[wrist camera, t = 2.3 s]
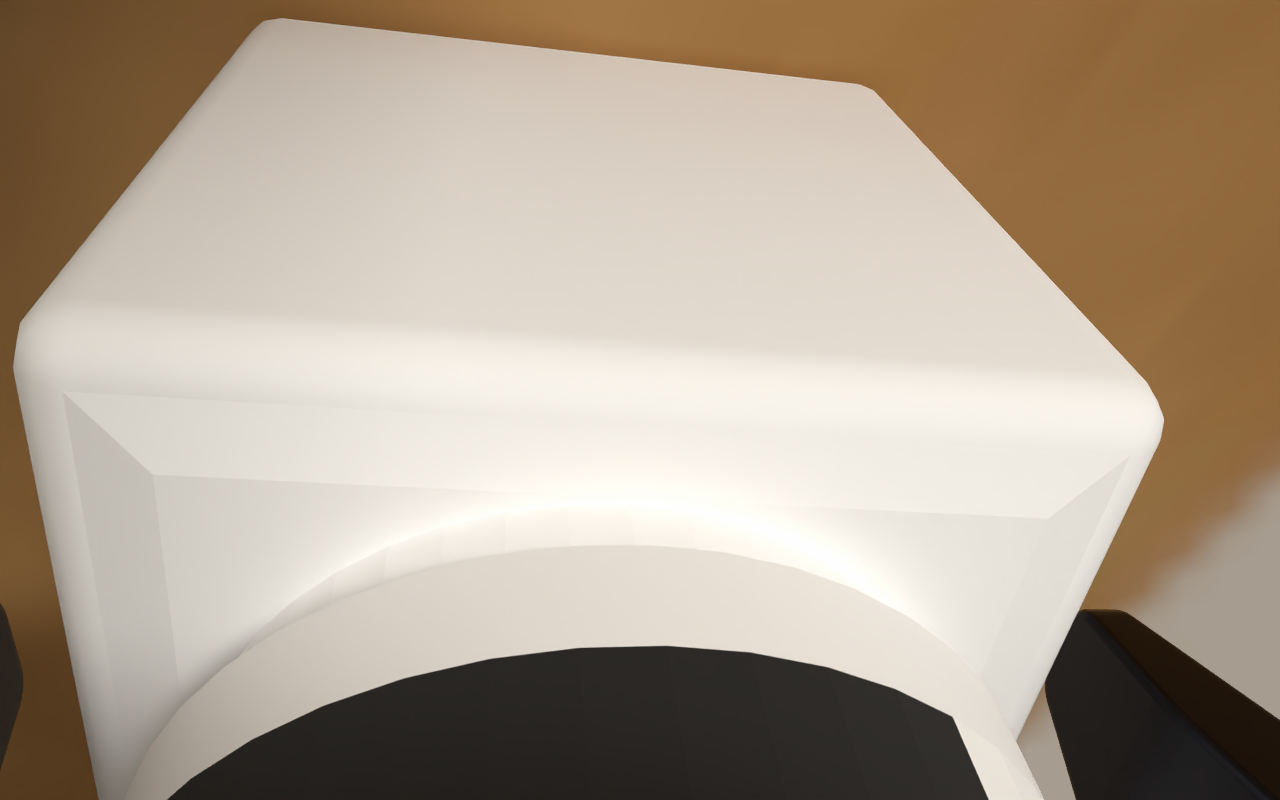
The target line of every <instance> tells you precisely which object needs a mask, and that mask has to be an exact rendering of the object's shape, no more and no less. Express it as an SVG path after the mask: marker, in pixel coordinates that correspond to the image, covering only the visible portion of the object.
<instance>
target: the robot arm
mask: <svg viewBox="0 0 1280 800" xmlns="http://www.w3.org/2000/svg"><path fill="white" fill-rule="evenodd" d="M1045 692H1046V699H1047V703H1048V706H1049V710H1050V713H1051V716H1052V720H1053V723H1054V727H1055V730H1056V733H1057V737H1058V740H1059V744H1060V747H1061V750H1062V753H1063V757H1064V760H1065V764H1066V767H1067V771H1068V774H1069V777H1070V781H1071V784H1072V788H1073V791H1074V794H1075V798H1076V800H1280V720H1279V719H1278V718H1276V717H1274V716H1273V715H1272V714H1271V713H1269V712H1268V711H1266V710H1265V709H1263V708H1262V707H1261V706H1259V705H1258V704H1256V703H1255V702H1254V701H1252V700H1251V699H1249V698H1248V697H1246V696H1245V695H1244V694H1242V693H1241V692H1239V691H1238V690H1236V689H1235V688H1233V687H1232V686H1231V685H1229V684H1228V683H1226V682H1225V681H1223V680H1222V679H1221V678H1219V677H1218V676H1217V675H1215V674H1214V673H1212V672H1211V671H1209V670H1208V669H1207V668H1205V667H1204V666H1202V665H1201V664H1199V663H1198V662H1197V661H1195V660H1194V659H1192V658H1191V657H1190V656H1188V655H1187V654H1185V653H1184V652H1182V651H1181V650H1180V649H1178V648H1177V647H1175V646H1174V645H1172V644H1171V643H1170V642H1168V641H1167V640H1165V639H1164V638H1162V637H1161V636H1160V635H1158V634H1157V633H1155V632H1154V631H1153V630H1151V629H1150V628H1148V627H1147V626H1145V625H1144V624H1143V623H1141V622H1140V621H1138V620H1137V619H1135V618H1134V617H1133V616H1131V615H1129V614H1128V613H1126V612H1124V611H1120V610H1107V609H1084V610H1080V611H1078V613H1077V615H1076V617H1075V619H1074V621H1073V623H1072V625H1071V627H1070V629H1069V631H1068V634H1067V636H1066V638H1065V640H1064V642H1063V644H1062V646H1061V648H1060V650H1059V652H1058V654H1057V656H1056V659H1055V661H1054V663H1053V665H1052V667H1051V669H1050V671H1049V673H1048V675H1047V677H1046V680H1045ZM22 693H23V673H22V668H21V664H20V661H19V657H18V654H17V650H16V646H15V643H14V639H13V636H12V632H11V629H10V625H9V622H8V618H7V615H6V612H5V610H4V608H3V606H2V605H1V604H0V769H1V766H2V763H3V759H4V756H5V753H6V750H7V746H8V743H9V740H10V736H11V733H12V730H13V726H14V723H15V720H16V716H17V713H18V710H19V706H20V703H21V699H22Z"/></svg>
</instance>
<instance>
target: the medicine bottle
mask: <svg viewBox="0 0 1280 800" xmlns="http://www.w3.org/2000/svg"><path fill="white" fill-rule="evenodd" d="M13 371H14V376H15V381H16V386H17V391H18V396H19V401H20V407H21V412H22V417H23V422H24V427H25V432H26V437H27V442H28V447H29V452H30V457H31V462H32V467H33V472H34V477H35V482H36V487H37V492H38V497H39V502H40V507H41V512H42V518H43V523H44V528H45V533H46V538H47V543H48V548H49V553H50V558H51V563H52V568H53V573H54V578H55V583H56V588H57V593H58V598H59V603H60V608H61V613H62V618H63V623H64V628H65V634H66V639H67V644H68V649H69V654H70V659H71V664H72V669H73V674H74V679H75V684H76V689H77V694H78V699H79V704H80V709H81V714H82V719H83V724H84V729H85V734H86V739H87V745H88V750H89V755H90V760H91V765H92V770H93V775H94V780H95V785H96V790H97V795H98V800H1044V798H1043V796H1042V794H1041V792H1040V790H1039V788H1038V786H1037V784H1036V782H1035V780H1034V778H1033V776H1032V774H1031V771H1030V769H1029V767H1028V765H1027V763H1026V761H1025V759H1024V757H1023V755H1022V753H1021V751H1020V749H1019V747H1018V745H1017V743H1016V740H1017V738H1018V736H1019V734H1020V732H1021V729H1022V727H1023V725H1024V723H1025V721H1026V719H1027V717H1028V715H1029V713H1030V711H1031V709H1032V707H1033V704H1034V702H1035V700H1036V698H1037V696H1038V694H1039V692H1040V690H1041V688H1042V686H1043V684H1044V682H1045V679H1046V677H1047V675H1048V673H1049V671H1050V669H1051V667H1052V665H1053V663H1054V661H1055V659H1056V656H1057V654H1058V652H1059V650H1060V648H1061V646H1062V644H1063V642H1064V640H1065V638H1066V636H1067V634H1068V631H1069V629H1070V627H1071V625H1072V623H1073V621H1074V619H1075V617H1076V615H1077V613H1078V611H1079V609H1080V606H1081V604H1082V602H1083V600H1084V598H1085V596H1086V594H1087V592H1088V590H1089V588H1090V586H1091V584H1092V581H1093V579H1094V577H1095V575H1096V573H1097V571H1098V569H1099V567H1100V565H1101V563H1102V561H1103V559H1104V556H1105V554H1106V552H1107V550H1108V548H1109V546H1110V544H1111V542H1112V540H1113V538H1114V536H1115V534H1116V531H1117V529H1118V527H1119V525H1120V523H1121V521H1122V519H1123V517H1124V515H1125V513H1126V511H1127V508H1128V506H1129V504H1130V502H1131V500H1132V498H1133V496H1134V494H1135V492H1136V490H1137V488H1138V486H1139V483H1140V481H1141V479H1142V477H1143V475H1144V473H1145V471H1146V469H1147V467H1148V465H1149V463H1150V461H1151V458H1152V456H1153V454H1154V452H1155V450H1156V448H1157V446H1158V444H1159V442H1160V439H1161V434H1162V428H1163V423H1164V418H1163V415H1162V412H1161V410H1160V407H1159V404H1158V401H1157V400H1156V398H1155V396H1154V394H1153V393H1152V391H1151V389H1150V387H1149V386H1148V384H1147V382H1146V381H1145V380H1144V379H1143V378H1142V377H1141V376H1140V375H1139V374H1138V373H1137V371H1136V370H1135V369H1134V368H1133V367H1132V366H1131V365H1130V364H1129V363H1128V362H1127V361H1126V360H1125V359H1124V358H1123V356H1122V355H1121V354H1120V353H1119V352H1118V351H1117V350H1116V349H1115V348H1114V347H1113V346H1112V345H1111V344H1110V343H1109V342H1108V340H1107V339H1106V338H1105V337H1104V336H1103V335H1102V334H1101V333H1100V332H1099V331H1098V330H1097V329H1096V328H1095V327H1094V326H1093V324H1092V323H1091V322H1090V321H1089V320H1088V319H1087V318H1086V317H1085V316H1084V315H1083V314H1082V313H1081V312H1080V311H1079V309H1078V308H1077V307H1076V306H1075V305H1074V304H1073V303H1072V302H1071V301H1070V300H1069V299H1068V298H1067V297H1066V296H1065V295H1064V293H1063V292H1062V291H1061V290H1060V289H1059V288H1058V287H1057V286H1056V285H1055V284H1054V283H1053V282H1052V281H1051V280H1050V279H1049V277H1048V276H1047V275H1046V274H1045V273H1044V272H1043V271H1042V270H1041V269H1040V268H1039V267H1038V266H1037V265H1036V264H1035V262H1034V261H1033V260H1032V259H1031V258H1030V257H1029V256H1028V255H1027V254H1026V253H1025V252H1024V251H1023V250H1022V249H1021V248H1020V246H1019V245H1018V244H1017V243H1016V242H1015V241H1014V240H1013V239H1012V238H1011V237H1010V236H1009V235H1008V234H1007V233H1006V232H1005V230H1004V229H1003V228H1002V227H1001V226H1000V225H999V224H998V223H997V222H996V221H995V220H994V219H993V218H992V217H991V215H990V214H989V213H988V212H987V211H986V210H985V209H984V208H983V207H982V206H981V205H980V204H979V203H978V202H977V201H976V199H975V198H974V197H973V196H972V195H971V194H970V193H969V192H968V191H967V190H966V189H965V188H964V187H963V186H962V185H961V183H960V182H959V181H958V180H957V179H956V178H955V177H954V176H953V175H952V174H951V173H950V172H949V171H948V170H947V168H946V167H945V166H944V165H943V164H942V163H941V162H940V161H939V160H938V159H937V158H936V157H935V156H934V155H933V154H932V152H931V151H930V150H929V149H928V148H927V147H926V146H925V145H924V144H923V143H922V142H921V141H920V140H919V139H918V138H917V136H916V135H915V134H914V133H913V132H912V131H911V130H910V129H909V128H908V127H907V126H906V125H905V124H904V123H903V121H902V120H901V119H900V118H899V117H898V116H897V115H896V114H895V113H894V112H893V111H892V110H891V109H890V108H889V107H888V105H887V104H886V103H885V102H884V101H883V100H882V99H881V98H880V97H879V96H878V95H877V94H876V93H875V92H874V90H871V89H869V88H867V87H864V86H862V85H859V84H852V83H843V82H834V81H826V80H817V79H808V78H799V77H791V76H782V75H773V74H764V73H756V72H747V71H738V70H730V69H721V68H712V67H703V66H695V65H686V64H677V63H668V62H660V61H651V60H642V59H634V58H625V57H616V56H607V55H599V54H590V53H581V52H572V51H564V50H555V49H546V48H538V47H529V46H520V45H511V44H503V43H494V42H485V41H476V40H468V39H459V38H450V37H442V36H433V35H424V34H415V33H407V32H398V31H389V30H380V29H372V28H363V27H354V26H346V25H337V24H328V23H319V22H311V21H302V20H293V19H284V18H280V19H273V20H266V21H263V22H262V23H261V24H260V25H258V26H257V27H256V28H255V29H254V30H253V31H252V32H251V33H250V34H249V35H248V37H247V38H246V39H245V40H244V42H243V43H242V44H241V45H240V47H239V48H238V49H237V50H236V52H235V53H234V54H233V55H232V57H231V58H230V59H229V61H228V62H227V63H226V64H225V66H224V67H223V68H222V69H221V71H220V72H219V73H218V74H217V76H216V77H215V78H214V79H213V81H212V82H211V83H210V84H209V86H208V87H207V88H206V89H205V91H204V92H203V93H202V94H201V96H200V97H199V98H198V99H197V101H196V102H195V103H194V105H193V106H192V107H191V108H190V110H189V111H188V112H187V113H186V115H185V116H184V117H183V118H182V120H181V121H180V122H179V123H178V125H177V126H176V127H175V128H174V130H173V131H172V132H171V133H170V135H169V136H168V137H167V138H166V140H165V141H164V142H163V144H162V145H161V146H160V147H159V149H158V150H157V151H156V152H155V154H154V155H153V156H152V157H151V159H150V160H149V161H148V162H147V164H146V165H145V166H144V167H143V169H142V170H141V171H140V172H139V174H138V175H137V176H136V177H135V179H134V180H133V181H132V182H131V184H130V185H129V186H128V188H127V189H126V190H125V191H124V193H123V194H122V195H121V196H120V198H119V199H118V200H117V201H116V203H115V204H114V205H113V206H112V208H111V209H110V210H109V211H108V213H107V214H106V215H105V216H104V218H103V219H102V220H101V221H100V223H99V224H98V225H97V227H96V228H95V229H94V230H93V232H92V233H91V234H90V235H89V237H88V238H87V239H86V240H85V242H84V243H83V244H82V245H81V247H80V248H79V249H78V250H77V252H76V253H75V254H74V255H73V257H72V258H71V259H70V260H69V262H68V263H67V264H66V265H65V267H64V268H63V269H62V271H61V272H60V273H59V274H58V276H57V277H56V278H55V279H54V281H53V282H52V283H51V284H50V286H49V287H48V288H47V289H46V291H45V292H44V293H43V294H42V296H41V297H40V298H39V299H38V301H37V302H36V303H35V304H34V306H33V307H32V308H31V310H30V311H29V312H28V313H27V315H26V316H25V317H24V318H23V320H22V321H21V322H20V326H19V332H18V337H17V343H16V350H15V357H14V364H13Z"/></svg>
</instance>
